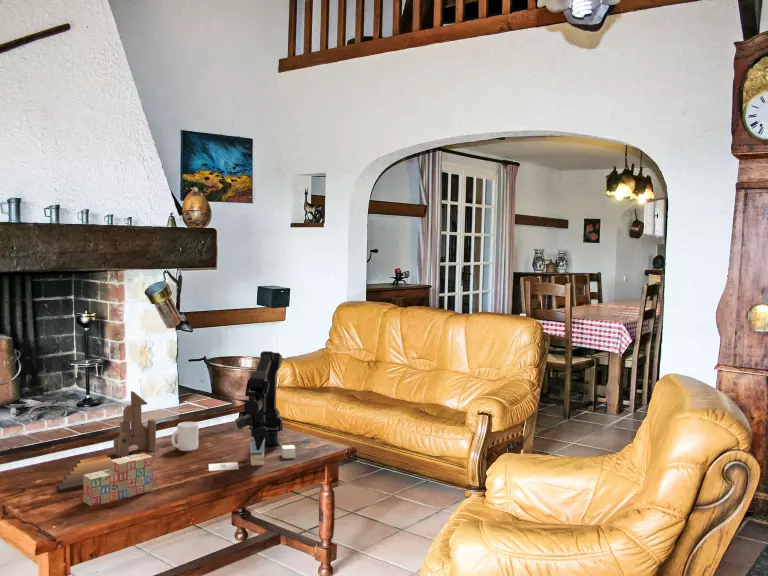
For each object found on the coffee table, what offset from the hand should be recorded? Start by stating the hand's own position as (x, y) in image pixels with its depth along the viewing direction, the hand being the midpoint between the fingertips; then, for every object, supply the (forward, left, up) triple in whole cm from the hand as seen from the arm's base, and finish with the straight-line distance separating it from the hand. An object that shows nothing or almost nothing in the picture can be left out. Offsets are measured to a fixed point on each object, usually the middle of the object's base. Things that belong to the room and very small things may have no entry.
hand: (257, 448), depth 268 cm
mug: (-24, -28, -6) cm, 37 cm away
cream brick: (-6, +13, -6) cm, 16 cm away
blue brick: (0, 0, -1) cm, 1 cm away
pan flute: (+2, -63, -7) cm, 63 cm away
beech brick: (0, 0, -6) cm, 6 cm away
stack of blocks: (+25, -48, -6) cm, 55 cm away
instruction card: (+2, -13, -6) cm, 14 cm away
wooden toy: (-24, -47, -6) cm, 53 cm away
